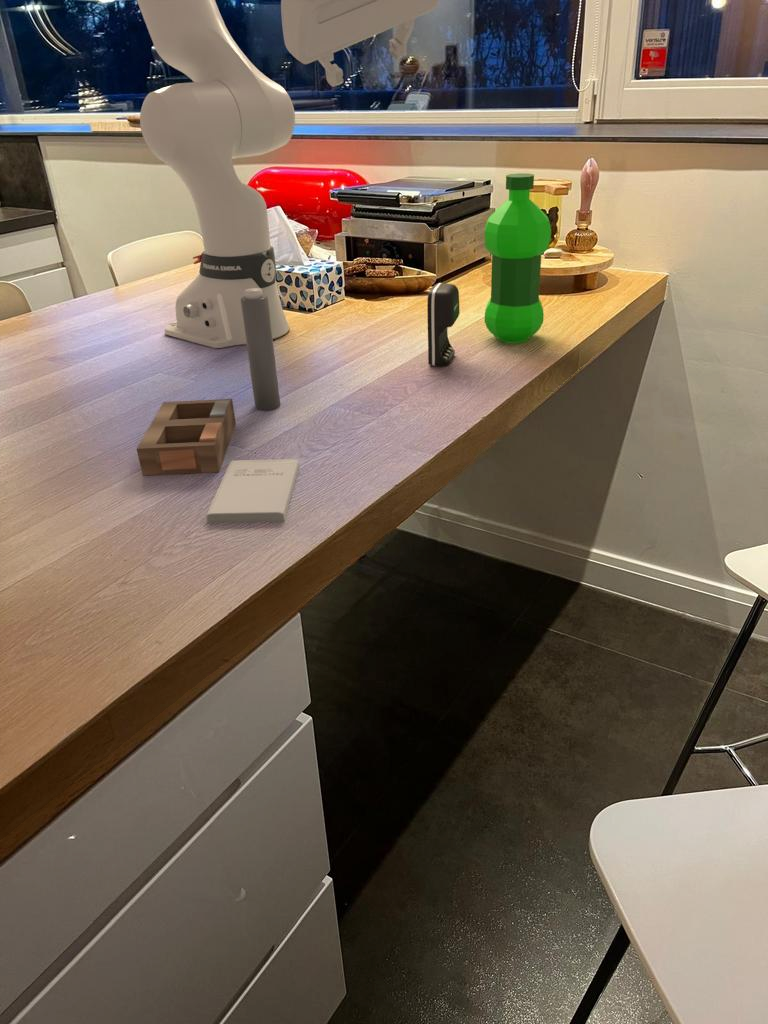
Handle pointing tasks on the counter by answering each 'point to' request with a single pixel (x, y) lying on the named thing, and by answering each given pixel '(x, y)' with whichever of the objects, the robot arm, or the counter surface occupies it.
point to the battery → (441, 322)
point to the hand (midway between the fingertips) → (367, 69)
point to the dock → (187, 437)
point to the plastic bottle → (516, 262)
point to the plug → (260, 349)
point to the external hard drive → (254, 491)
